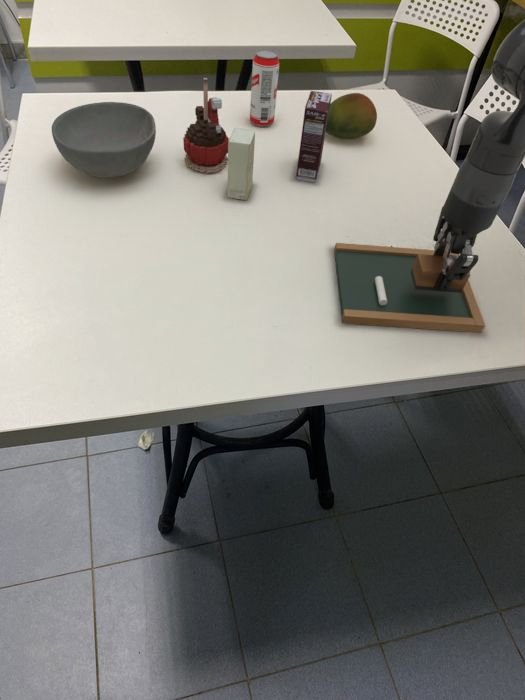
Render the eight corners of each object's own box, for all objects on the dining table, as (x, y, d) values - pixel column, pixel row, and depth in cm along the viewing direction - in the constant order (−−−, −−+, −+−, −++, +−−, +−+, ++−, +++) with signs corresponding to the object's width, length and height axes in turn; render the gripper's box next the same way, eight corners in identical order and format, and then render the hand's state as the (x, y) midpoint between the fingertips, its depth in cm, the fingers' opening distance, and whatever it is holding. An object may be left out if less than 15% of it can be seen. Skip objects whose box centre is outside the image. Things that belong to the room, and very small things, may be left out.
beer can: (251, 128, 123) (256, 58, 110) (247, 116, 127) (250, 48, 114) (276, 128, 124) (283, 58, 112) (271, 116, 128) (277, 48, 116)
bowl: (57, 149, 110) (45, 103, 102) (149, 140, 115) (144, 96, 107) (67, 200, 98) (55, 152, 90) (168, 187, 103) (165, 141, 96)
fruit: (378, 142, 123) (389, 102, 115) (338, 153, 118) (347, 111, 111) (349, 122, 129) (358, 82, 121) (311, 131, 124) (317, 90, 117)
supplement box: (300, 160, 115) (310, 89, 102) (320, 164, 114) (333, 93, 102) (294, 180, 109) (304, 107, 97) (315, 183, 109) (328, 111, 97)
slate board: (454, 259, 95) (458, 251, 94) (480, 332, 83) (485, 325, 82) (334, 250, 94) (335, 242, 93) (342, 323, 82) (344, 315, 80)
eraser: (455, 275, 86) (464, 257, 83) (461, 293, 83) (470, 275, 80) (410, 271, 86) (417, 253, 83) (414, 289, 83) (422, 271, 80)
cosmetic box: (246, 201, 102) (250, 145, 93) (226, 197, 103) (227, 141, 93) (252, 185, 106) (256, 130, 97) (232, 181, 107) (234, 126, 97)
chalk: (382, 281, 87) (382, 275, 86) (387, 305, 84) (387, 299, 82) (374, 282, 87) (374, 276, 86) (378, 305, 84) (379, 300, 83)
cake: (179, 154, 112) (174, 69, 98) (218, 149, 115) (219, 66, 101) (193, 179, 106) (190, 92, 92) (233, 173, 109) (237, 88, 95)
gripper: (519, 222, 67) (468, 310, 80) (490, 167, 76) (449, 254, 89) (465, 218, 66) (423, 307, 79) (442, 162, 75) (408, 251, 88)
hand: (437, 279), depth 84 cm, fingers closed on eraser, 4 cm apart
